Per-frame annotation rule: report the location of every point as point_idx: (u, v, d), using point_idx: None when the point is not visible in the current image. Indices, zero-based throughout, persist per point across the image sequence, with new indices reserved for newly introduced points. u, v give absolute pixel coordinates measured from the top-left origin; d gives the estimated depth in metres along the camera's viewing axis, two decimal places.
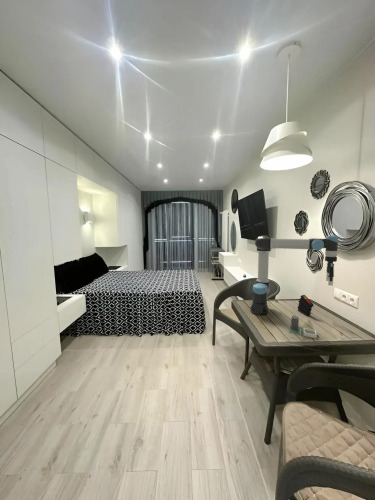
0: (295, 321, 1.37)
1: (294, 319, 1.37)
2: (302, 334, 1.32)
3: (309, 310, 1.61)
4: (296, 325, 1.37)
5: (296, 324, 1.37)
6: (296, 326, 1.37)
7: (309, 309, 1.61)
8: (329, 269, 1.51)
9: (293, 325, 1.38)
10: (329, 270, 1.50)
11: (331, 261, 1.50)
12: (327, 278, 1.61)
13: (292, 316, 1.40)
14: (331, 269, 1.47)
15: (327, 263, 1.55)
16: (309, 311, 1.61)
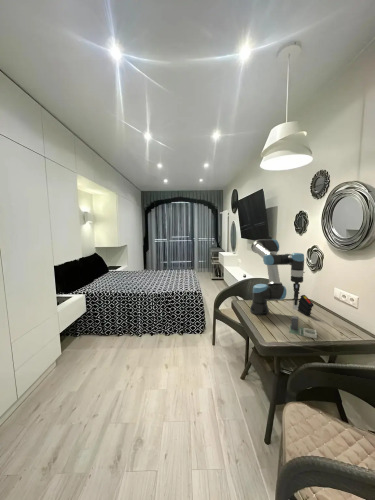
0: (295, 321, 1.37)
1: (294, 319, 1.37)
2: (302, 334, 1.32)
3: (309, 310, 1.61)
4: (296, 325, 1.37)
5: (296, 324, 1.37)
6: (296, 326, 1.37)
7: (309, 309, 1.61)
8: None
9: (293, 325, 1.38)
10: None
11: (296, 282, 1.33)
12: None
13: (292, 316, 1.40)
14: (296, 291, 1.30)
15: (293, 283, 1.38)
16: (309, 311, 1.61)
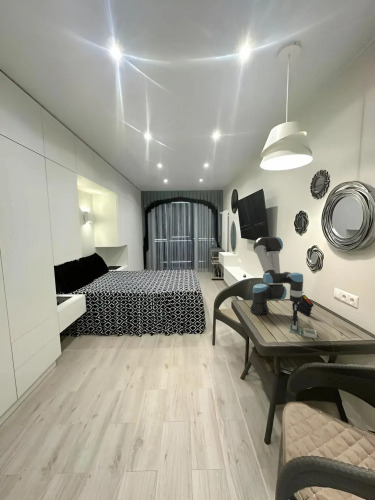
0: None
1: None
2: (302, 334, 1.32)
3: (309, 310, 1.61)
4: None
5: None
6: None
7: (309, 309, 1.61)
8: None
9: None
10: None
11: (295, 302, 1.34)
12: None
13: (292, 316, 1.40)
14: (294, 313, 1.33)
15: None
16: (309, 311, 1.61)
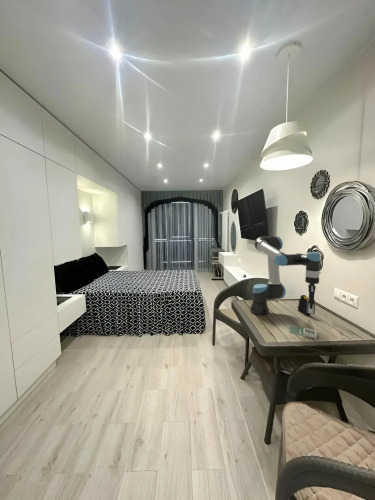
0: None
1: None
2: (302, 334, 1.32)
3: None
4: None
5: None
6: (313, 309, 1.28)
7: None
8: (309, 294, 1.27)
9: None
10: (309, 295, 1.27)
11: (312, 283, 1.25)
12: None
13: (308, 299, 1.31)
14: (311, 295, 1.24)
15: None
16: None
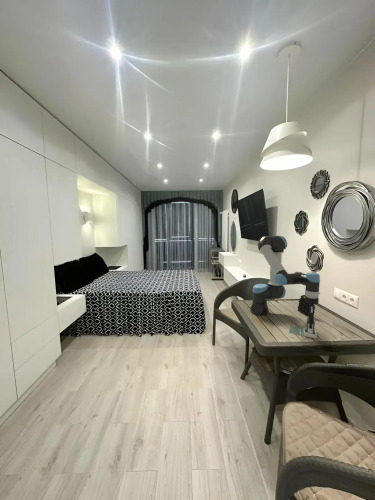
0: None
1: None
2: (302, 334, 1.32)
3: None
4: None
5: None
6: None
7: None
8: None
9: None
10: None
11: (311, 304, 1.26)
12: None
13: (307, 319, 1.32)
14: (311, 316, 1.25)
15: (308, 304, 1.32)
16: None
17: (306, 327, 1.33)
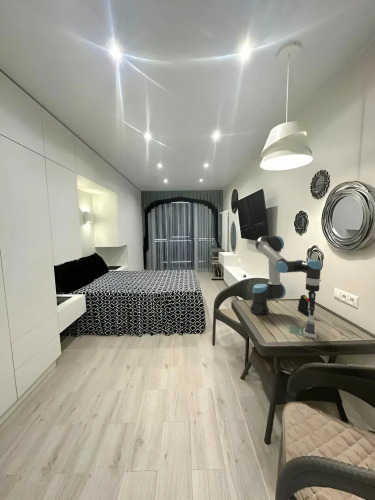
0: (311, 327, 1.29)
1: (310, 325, 1.29)
2: (302, 334, 1.32)
3: None
4: (312, 331, 1.29)
5: (312, 330, 1.29)
6: (312, 332, 1.29)
7: None
8: (310, 300, 1.26)
9: (308, 331, 1.30)
10: None
11: (312, 291, 1.25)
12: (309, 308, 1.36)
13: (307, 321, 1.32)
14: (312, 301, 1.22)
15: (308, 292, 1.30)
16: None
17: (306, 330, 1.33)
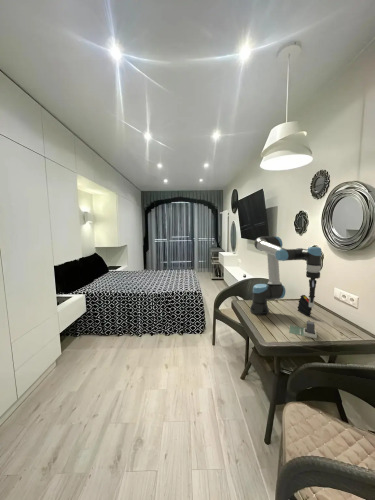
0: (311, 327, 1.29)
1: (310, 325, 1.29)
2: (302, 334, 1.32)
3: (309, 310, 1.61)
4: (312, 331, 1.29)
5: (312, 330, 1.29)
6: (312, 332, 1.29)
7: (309, 309, 1.61)
8: None
9: (308, 331, 1.30)
10: None
11: (313, 278, 1.24)
12: None
13: (307, 321, 1.32)
14: (312, 290, 1.24)
15: (309, 279, 1.30)
16: (309, 311, 1.61)
17: (306, 330, 1.33)
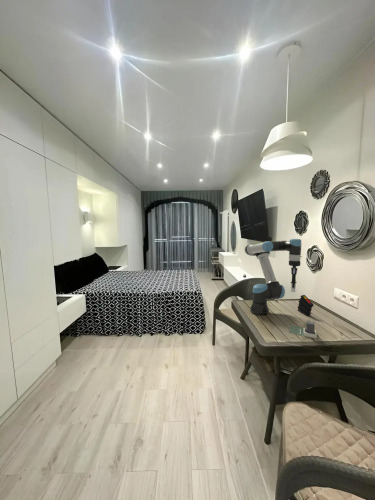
0: (311, 327, 1.29)
1: (310, 325, 1.29)
2: (302, 334, 1.32)
3: (309, 310, 1.61)
4: (312, 331, 1.29)
5: (312, 330, 1.29)
6: (312, 332, 1.29)
7: (309, 309, 1.61)
8: None
9: (308, 331, 1.30)
10: None
11: (294, 265, 1.42)
12: None
13: (307, 321, 1.32)
14: (293, 276, 1.42)
15: None
16: (309, 311, 1.61)
17: (306, 330, 1.33)
